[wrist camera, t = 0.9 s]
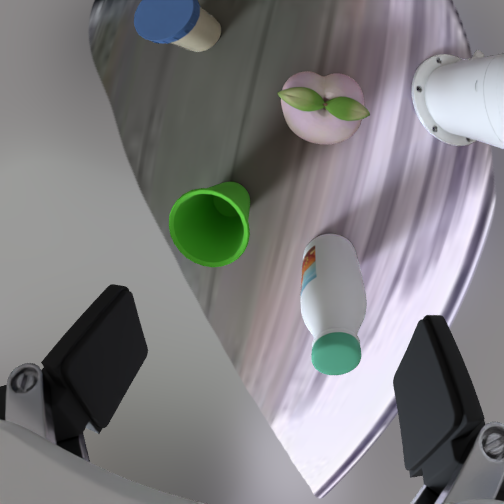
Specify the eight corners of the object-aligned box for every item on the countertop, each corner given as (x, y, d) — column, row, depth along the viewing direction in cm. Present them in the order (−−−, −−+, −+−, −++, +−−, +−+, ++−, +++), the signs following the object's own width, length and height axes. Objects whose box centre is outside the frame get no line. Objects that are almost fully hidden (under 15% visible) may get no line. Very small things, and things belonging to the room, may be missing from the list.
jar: (193, 9, 29) (158, -15, 20) (229, 23, 29) (201, -2, 20) (172, 43, 32) (130, 29, 22) (206, 58, 32) (171, 45, 23)
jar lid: (162, -16, 20) (154, -21, 19) (213, 0, 21) (207, -5, 20) (132, 33, 24) (123, 30, 22) (179, 52, 24) (171, 49, 23)
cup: (214, 235, 44) (187, 274, 34) (192, 178, 40) (155, 203, 31) (272, 221, 41) (260, 259, 32) (252, 158, 38) (231, 177, 28)
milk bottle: (328, 220, 40) (339, 315, 22) (366, 255, 41) (394, 358, 23) (292, 257, 43) (276, 361, 26) (329, 287, 44) (333, 395, 27)
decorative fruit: (284, 138, 36) (275, 147, 27) (283, 76, 32) (274, 64, 23) (357, 142, 34) (373, 154, 25) (358, 80, 30) (375, 71, 22)
